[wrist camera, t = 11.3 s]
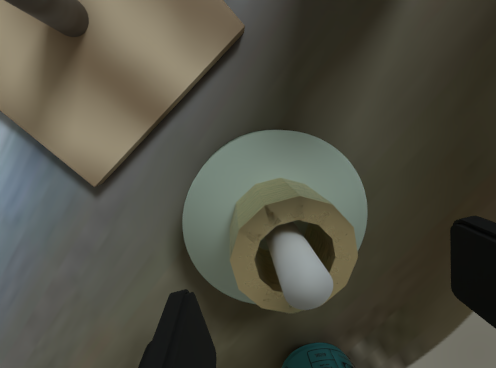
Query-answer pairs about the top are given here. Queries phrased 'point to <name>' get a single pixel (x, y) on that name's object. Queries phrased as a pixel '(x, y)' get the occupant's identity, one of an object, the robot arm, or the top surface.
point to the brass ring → (280, 212)
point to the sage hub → (282, 236)
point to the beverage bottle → (317, 357)
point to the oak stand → (104, 70)
